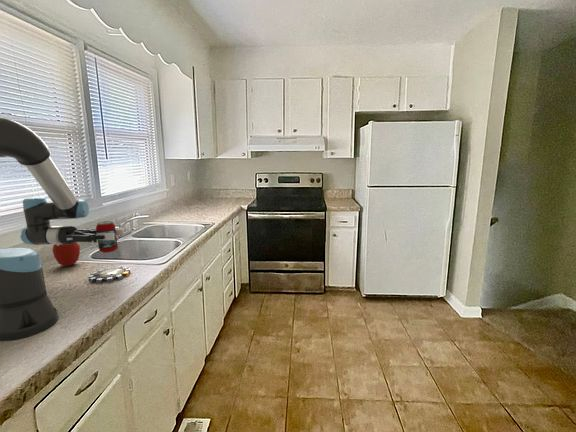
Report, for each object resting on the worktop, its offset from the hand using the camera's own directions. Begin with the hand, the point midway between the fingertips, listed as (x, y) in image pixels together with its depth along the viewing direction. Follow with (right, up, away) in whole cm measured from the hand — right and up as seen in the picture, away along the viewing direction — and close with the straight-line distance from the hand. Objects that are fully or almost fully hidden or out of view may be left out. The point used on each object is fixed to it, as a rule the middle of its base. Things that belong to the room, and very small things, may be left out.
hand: (118, 234), depth 130 cm
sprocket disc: (-5, -18, +4) cm, 19 cm away
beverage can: (-5, -7, +2) cm, 9 cm away
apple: (-33, -16, +19) cm, 41 cm away
